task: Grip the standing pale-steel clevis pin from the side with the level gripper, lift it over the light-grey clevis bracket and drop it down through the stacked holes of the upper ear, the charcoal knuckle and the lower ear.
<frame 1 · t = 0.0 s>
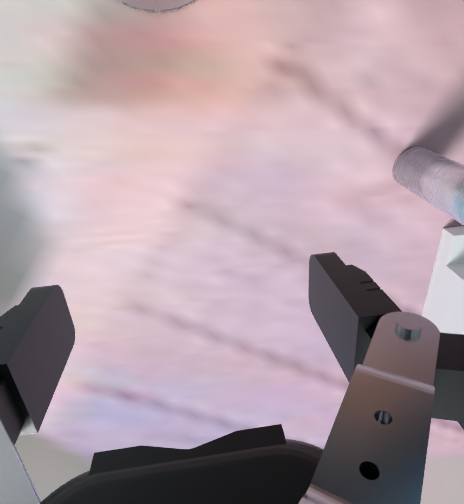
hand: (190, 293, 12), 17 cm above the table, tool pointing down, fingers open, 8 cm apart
clevis pin: (412, 166, 30), on the table
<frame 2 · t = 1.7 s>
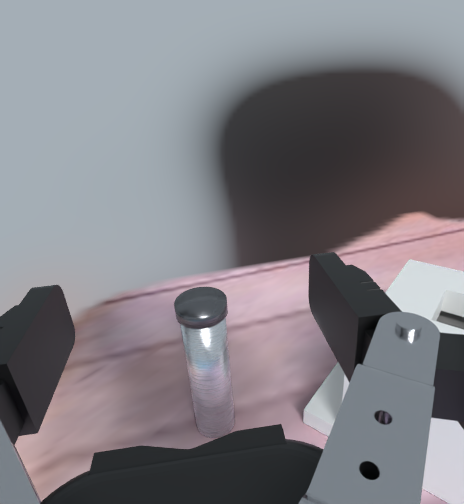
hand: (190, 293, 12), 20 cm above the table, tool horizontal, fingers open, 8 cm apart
clevis bracket: (448, 408, 30), on the table
clevis pin: (215, 420, 31), on the table
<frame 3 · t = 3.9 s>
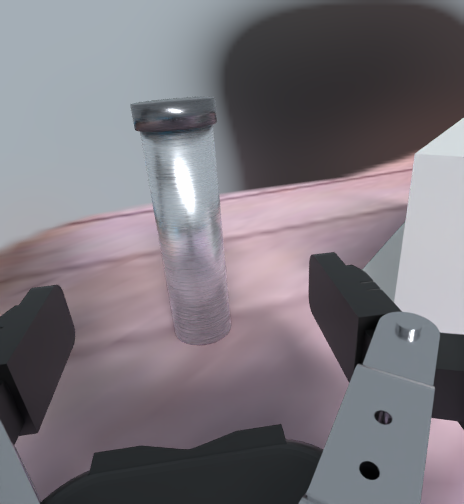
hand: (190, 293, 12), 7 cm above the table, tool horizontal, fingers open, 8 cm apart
clevis pin: (203, 326, 21), on the table
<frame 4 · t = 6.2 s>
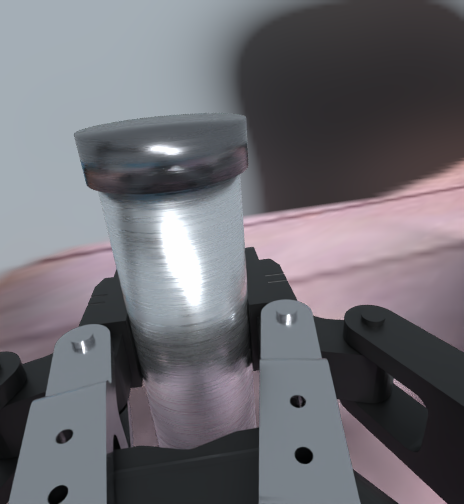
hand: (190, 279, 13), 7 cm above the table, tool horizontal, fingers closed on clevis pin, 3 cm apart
clevis pin: (214, 475, 13), on the table, touching gripper
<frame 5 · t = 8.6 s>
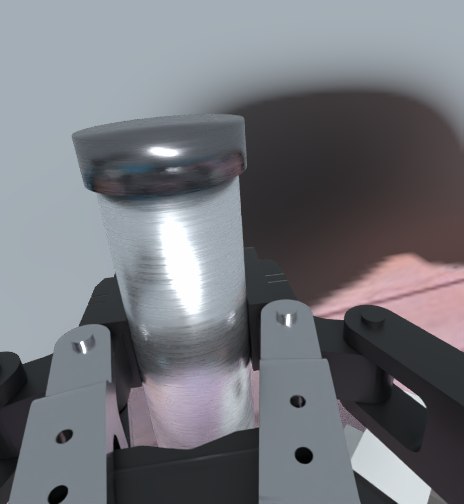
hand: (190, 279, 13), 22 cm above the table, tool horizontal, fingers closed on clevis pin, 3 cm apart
clevis pin: (213, 476, 13), point 15 cm above the table, touching gripper
when the fingers open (15 cm above the table, at t = 11.3 s): clevis pin drops 7 cm, resting on clevis bracket.
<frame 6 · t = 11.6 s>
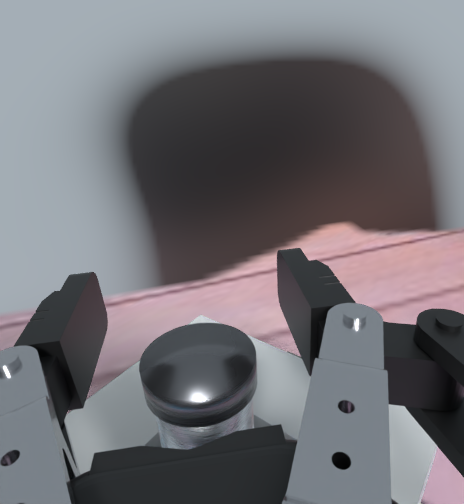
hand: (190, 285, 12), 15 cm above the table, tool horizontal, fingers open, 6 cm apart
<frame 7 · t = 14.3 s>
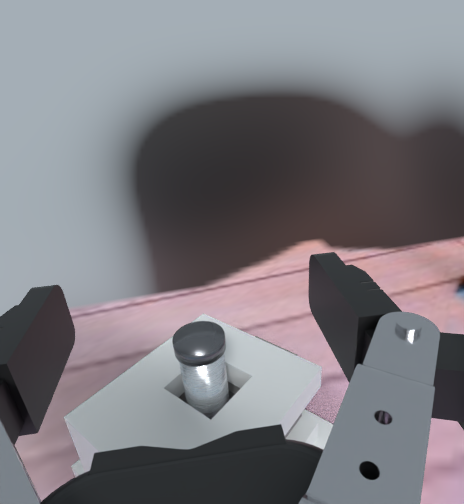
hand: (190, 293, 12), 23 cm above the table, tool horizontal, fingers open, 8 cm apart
clevis bracket: (218, 464, 31), on the table
clevis pin: (216, 453, 30), point 2 cm above the table, touching clevis bracket
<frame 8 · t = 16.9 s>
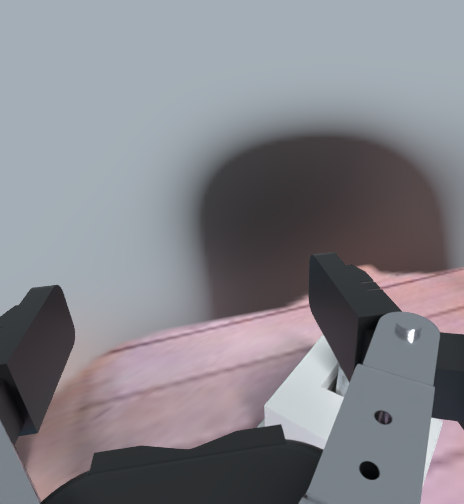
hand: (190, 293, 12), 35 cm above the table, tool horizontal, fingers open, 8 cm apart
clevis bracket: (344, 439, 45), on the table
clevis pin: (344, 431, 44), point 2 cm above the table, touching clevis bracket
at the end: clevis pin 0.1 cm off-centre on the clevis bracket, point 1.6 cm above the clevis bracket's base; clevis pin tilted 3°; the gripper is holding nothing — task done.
